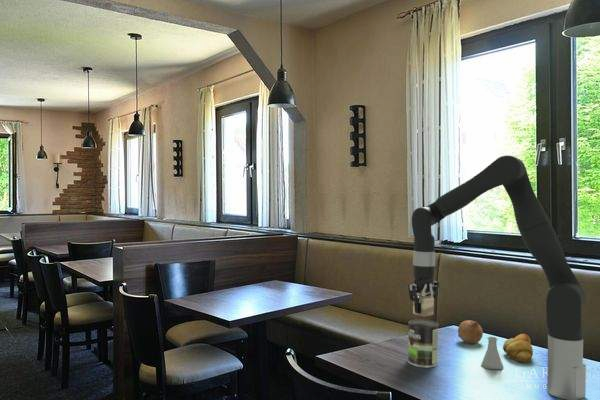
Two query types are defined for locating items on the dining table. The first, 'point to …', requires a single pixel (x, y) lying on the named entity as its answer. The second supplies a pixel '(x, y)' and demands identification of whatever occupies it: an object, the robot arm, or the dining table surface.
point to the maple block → (425, 306)
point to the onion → (470, 332)
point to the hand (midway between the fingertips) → (423, 312)
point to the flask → (492, 355)
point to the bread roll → (519, 348)
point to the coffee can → (422, 343)
